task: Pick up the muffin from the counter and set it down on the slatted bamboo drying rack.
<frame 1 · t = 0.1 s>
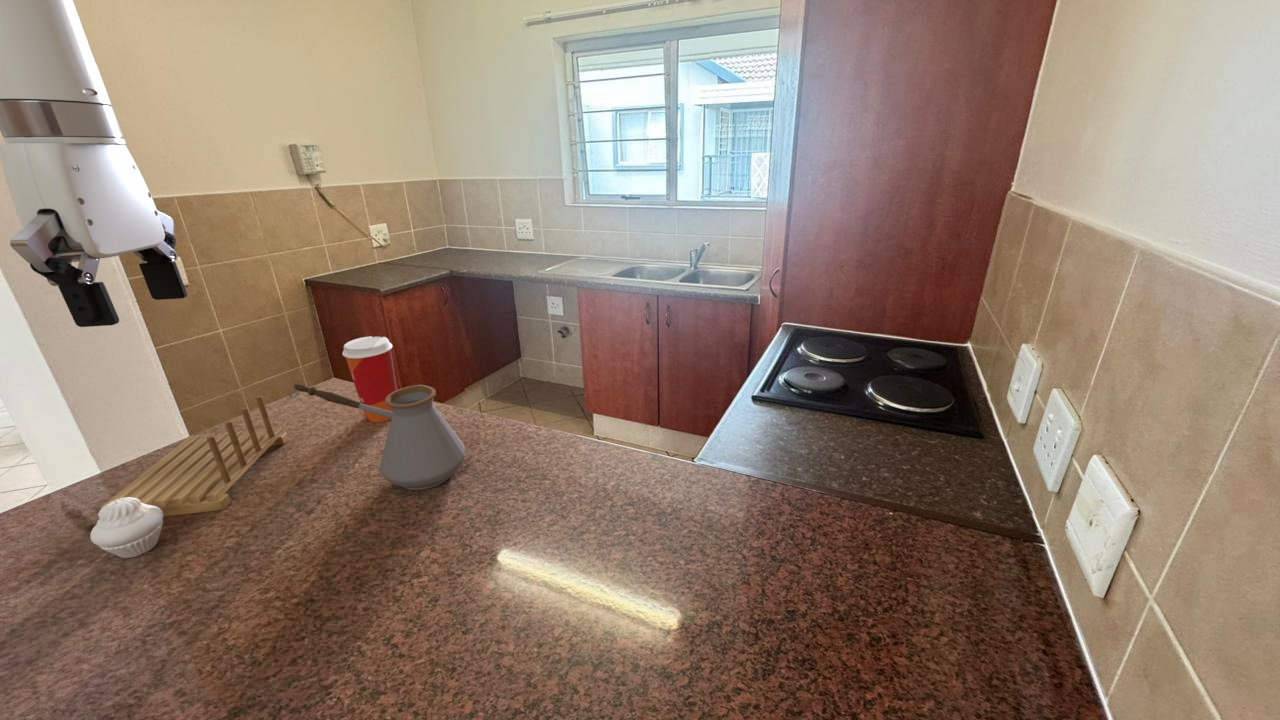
hand: (138, 310, 51), 29 cm above the countertop, tool pointing down, fingers open, 9 cm apart
rack: (208, 476, 73), on the countertop
coffee pot: (393, 476, 73), on the countertop
muffin: (140, 549, 60), on the countertop
paper cup: (383, 416, 90), on the countertop
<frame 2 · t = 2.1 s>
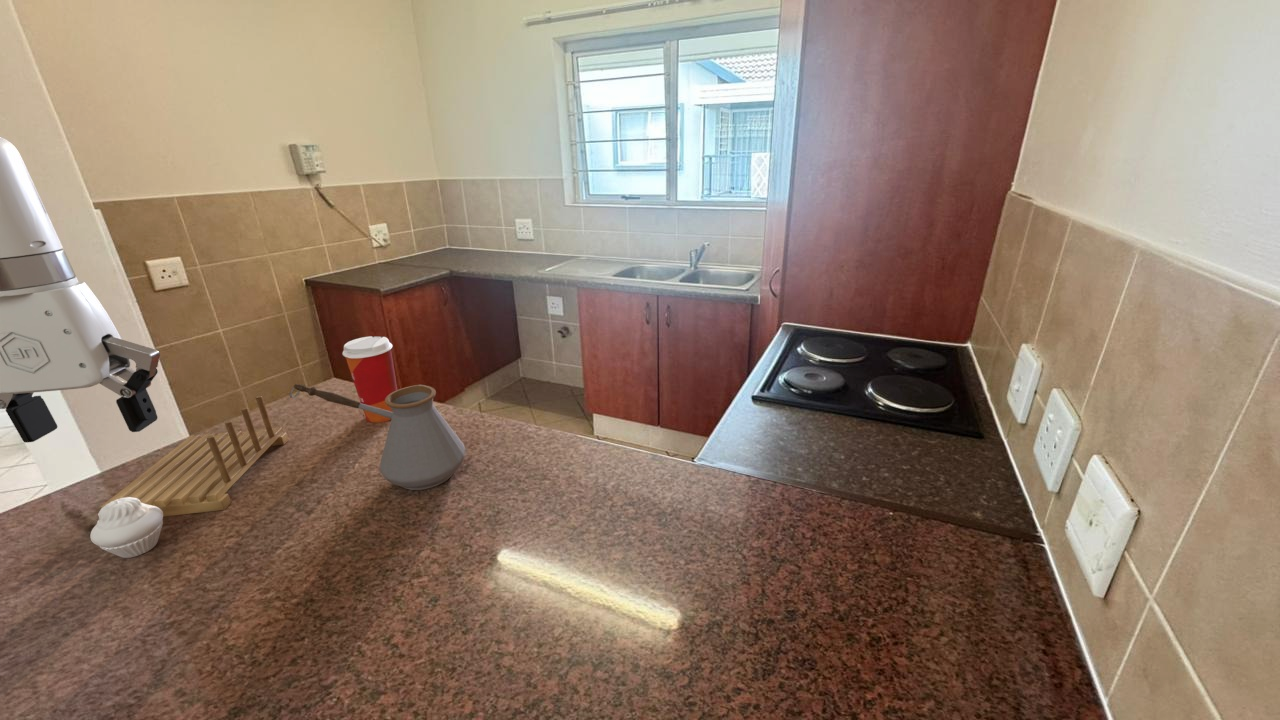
hand: (94, 430, 54), 16 cm above the countertop, tool pointing down, fingers open, 9 cm apart
nothing on the countertop moved.
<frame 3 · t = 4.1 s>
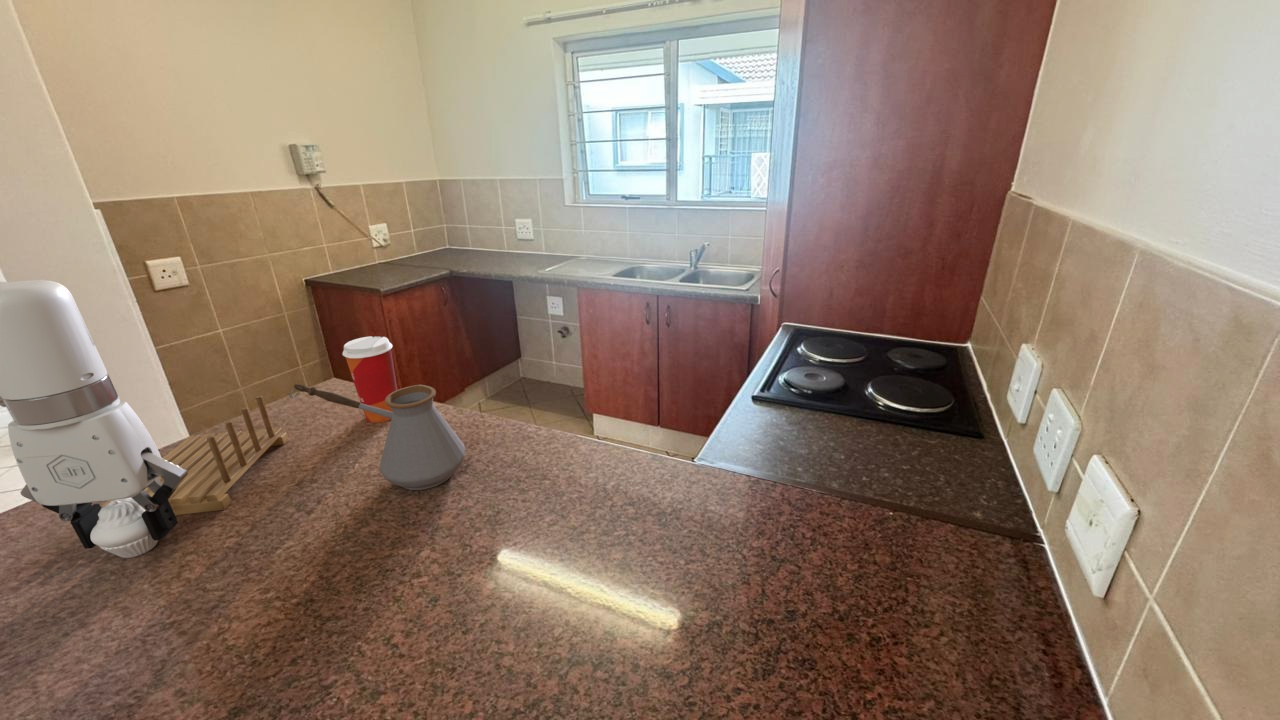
hand: (133, 535, 59), 2 cm above the countertop, tool pointing down, fingers closed on muffin, 6 cm apart
muffin: (140, 549, 60), on the countertop, touching gripper
everything else where it was.
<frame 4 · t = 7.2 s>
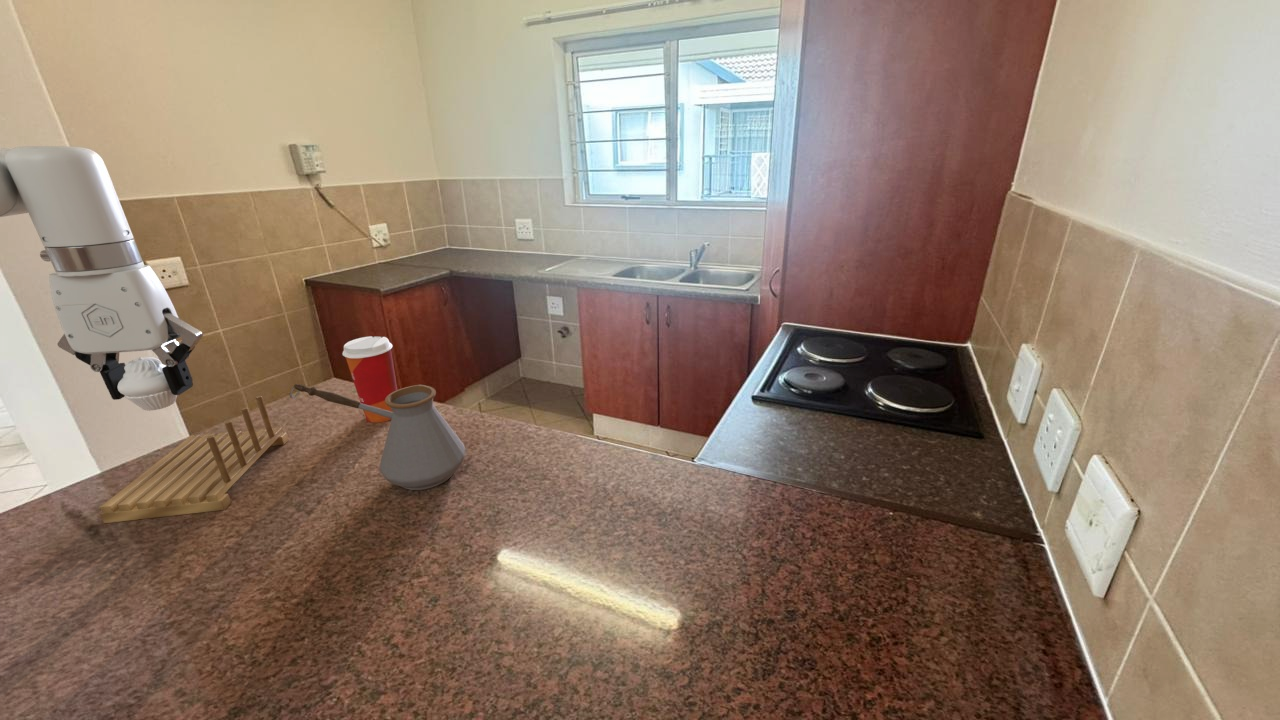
hand: (154, 391, 67), 14 cm above the countertop, tool pointing down, fingers closed on muffin, 6 cm apart
muffin: (160, 406, 68), point 12 cm above the countertop, touching gripper
everything else where it was.
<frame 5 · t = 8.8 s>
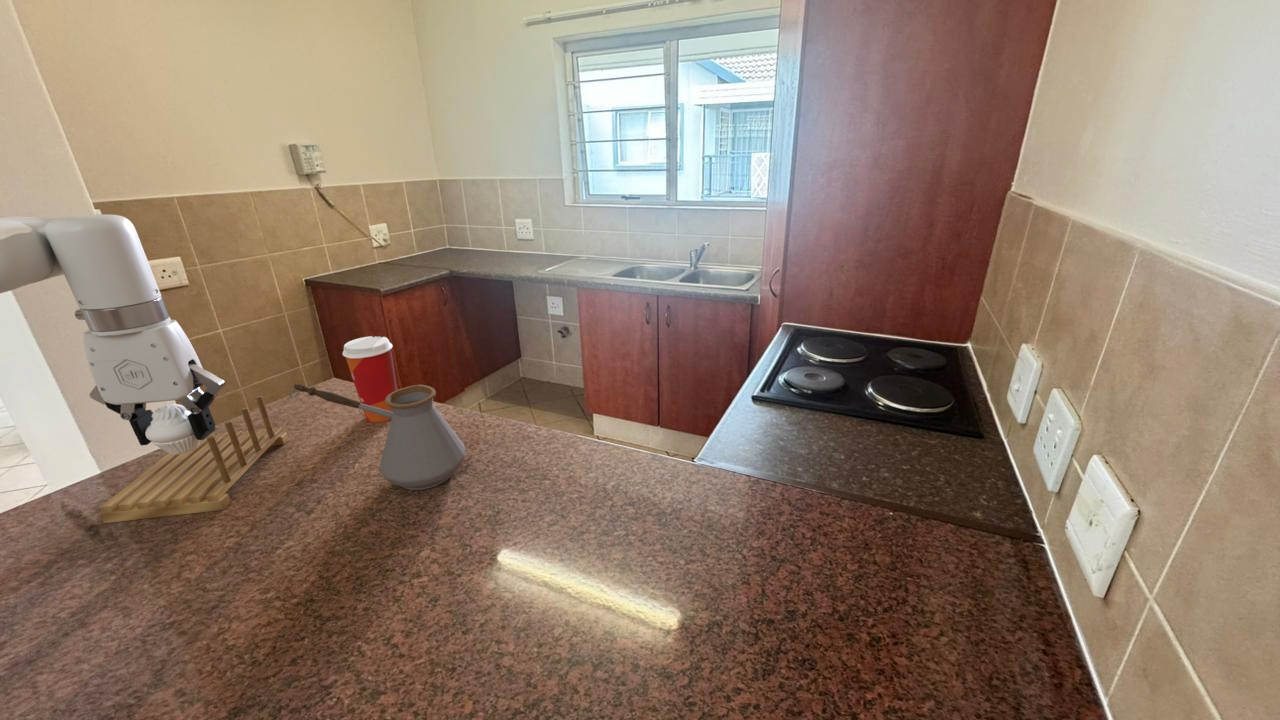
hand: (179, 436, 71), 7 cm above the countertop, tool pointing down, fingers closed on muffin, 6 cm apart
muffin: (184, 450, 71), point 5 cm above the countertop, touching gripper
everything else where it was.
when the fingers open (5 cm above the countertop, at t = 10.1 s): muffin stays where it is, resting on rack.
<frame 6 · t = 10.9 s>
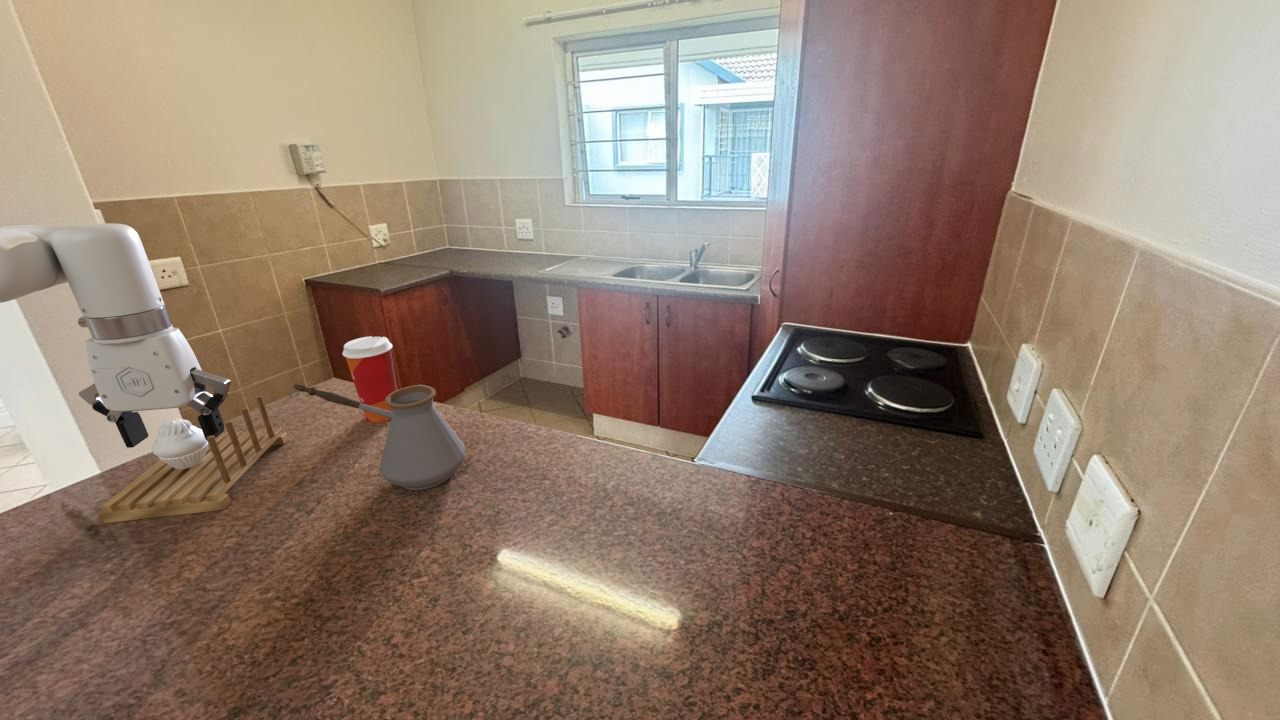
hand: (177, 439, 71), 7 cm above the countertop, tool pointing down, fingers open, 9 cm apart
muffin: (190, 464, 72), point 2 cm above the countertop, touching rack
everything else where it was.
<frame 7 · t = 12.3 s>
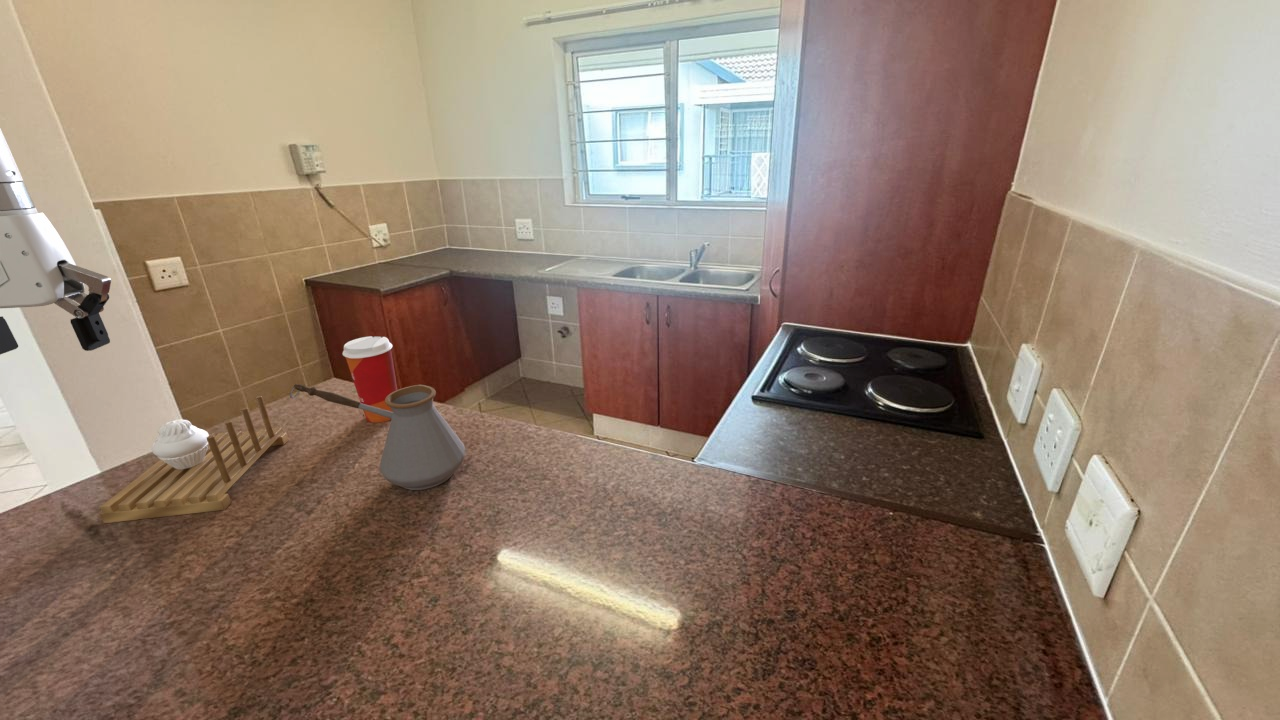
hand: (51, 349, 60), 22 cm above the countertop, tool pointing down, fingers open, 9 cm apart
nothing on the countertop moved.
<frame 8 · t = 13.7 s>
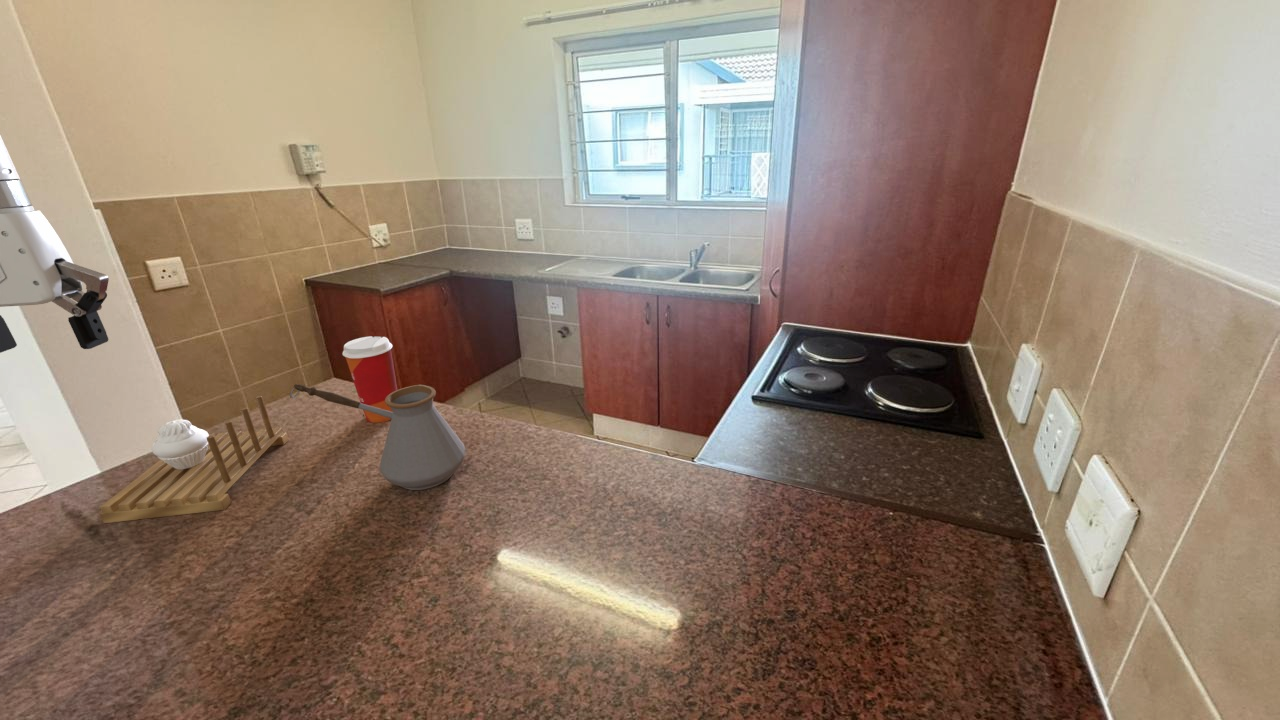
hand: (49, 348, 60), 22 cm above the countertop, tool pointing down, fingers open, 9 cm apart
nothing on the countertop moved.
at the end: muffin inside the target area on the rack (1.1 cm from its centre), point 2.3 cm above the rack's base; muffin tilted 0°; the gripper is holding nothing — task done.
